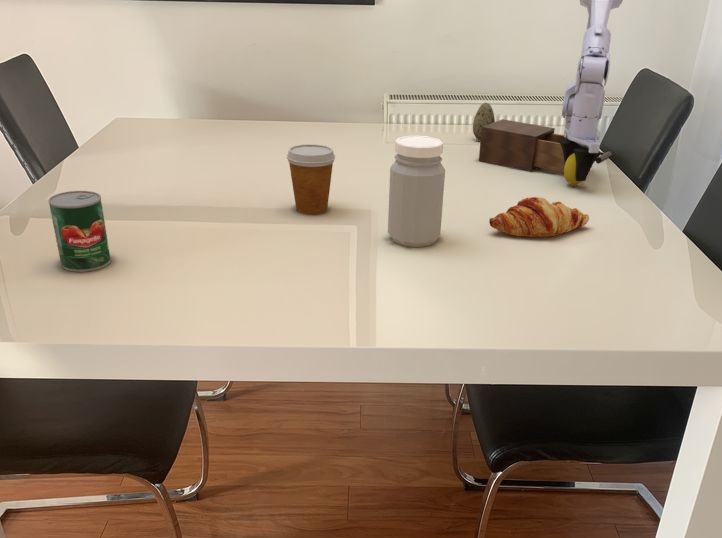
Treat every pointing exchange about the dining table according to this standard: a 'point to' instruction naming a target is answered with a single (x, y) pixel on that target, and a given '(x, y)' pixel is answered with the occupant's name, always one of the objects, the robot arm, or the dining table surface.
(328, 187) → the disposable coffee cup
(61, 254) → the canned tomato
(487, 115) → the decorative egg
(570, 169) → the lemon
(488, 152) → the cabinet
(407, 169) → the jar
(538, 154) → the drawer
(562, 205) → the croissant
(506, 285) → the dining table surface
